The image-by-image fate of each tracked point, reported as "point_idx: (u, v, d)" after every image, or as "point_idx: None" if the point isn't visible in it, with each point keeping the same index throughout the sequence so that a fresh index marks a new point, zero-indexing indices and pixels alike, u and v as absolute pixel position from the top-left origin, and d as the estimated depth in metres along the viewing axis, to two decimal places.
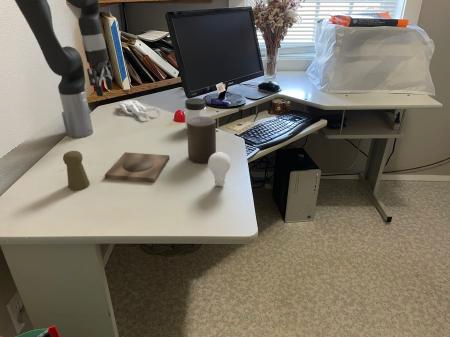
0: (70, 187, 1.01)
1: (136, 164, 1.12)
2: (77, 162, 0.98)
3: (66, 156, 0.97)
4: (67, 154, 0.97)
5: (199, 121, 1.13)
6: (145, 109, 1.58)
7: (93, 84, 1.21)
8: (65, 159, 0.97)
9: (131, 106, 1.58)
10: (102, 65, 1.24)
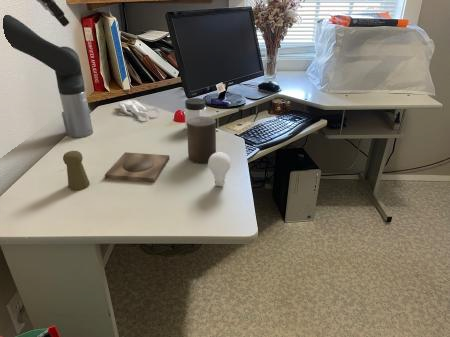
0: (70, 187, 1.01)
1: (136, 164, 1.12)
2: (77, 162, 0.98)
3: (66, 156, 0.97)
4: (67, 154, 0.97)
5: (199, 121, 1.13)
6: (145, 109, 1.58)
7: None
8: (65, 159, 0.97)
9: (131, 106, 1.58)
10: None
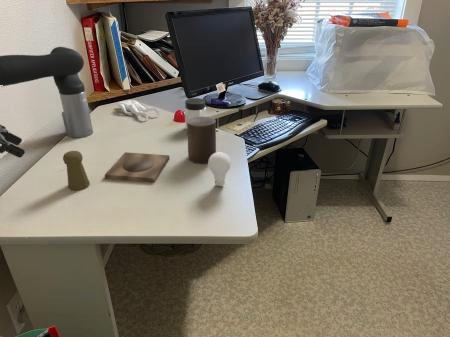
0: (70, 187, 1.01)
1: (136, 164, 1.12)
2: (77, 162, 0.98)
3: (66, 156, 0.97)
4: (67, 154, 0.97)
5: (199, 121, 1.13)
6: (144, 109, 1.58)
7: (3, 148, 0.82)
8: (65, 159, 0.97)
9: (130, 106, 1.58)
10: None
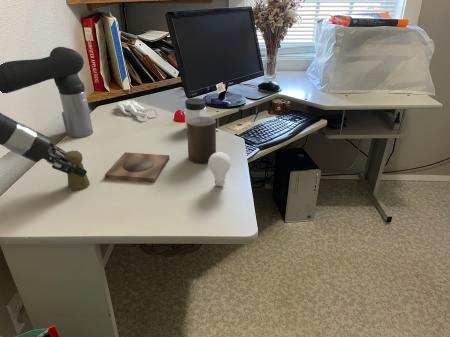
0: (70, 187, 1.01)
1: (136, 164, 1.12)
2: (77, 162, 0.98)
3: (66, 156, 0.97)
4: (67, 154, 0.97)
5: (199, 121, 1.13)
6: (143, 109, 1.58)
7: (71, 170, 0.95)
8: None
9: (129, 106, 1.58)
10: (50, 149, 0.95)
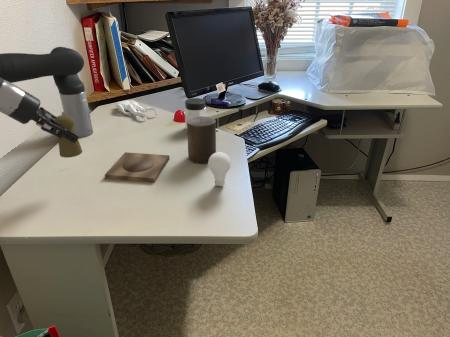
0: (61, 154, 0.95)
1: (136, 164, 1.12)
2: (68, 126, 0.92)
3: (57, 119, 0.92)
4: (58, 117, 0.92)
5: (199, 121, 1.13)
6: (143, 109, 1.58)
7: (62, 134, 0.90)
8: None
9: (128, 106, 1.58)
10: (40, 111, 0.90)
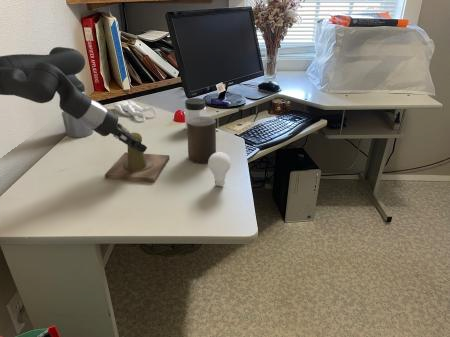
0: (130, 167, 1.08)
1: None
2: None
3: None
4: None
5: (199, 121, 1.13)
6: (141, 109, 1.57)
7: (135, 145, 1.02)
8: None
9: (127, 106, 1.58)
10: (116, 125, 1.03)
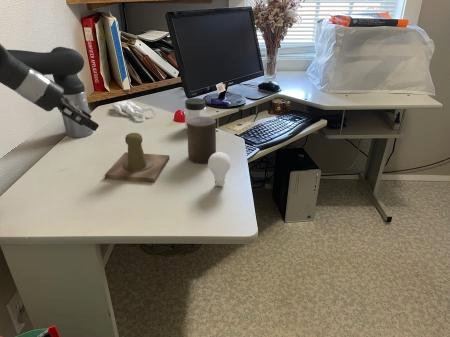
0: (130, 167, 1.08)
1: None
2: (138, 143, 1.05)
3: (129, 137, 1.04)
4: (129, 135, 1.05)
5: (199, 121, 1.13)
6: (140, 109, 1.57)
7: (83, 121, 0.90)
8: (128, 140, 1.04)
9: (126, 107, 1.57)
10: (63, 100, 0.92)
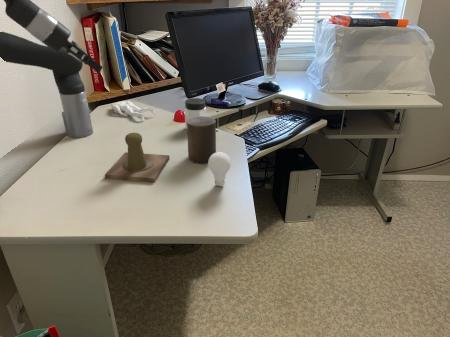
0: (130, 167, 1.08)
1: None
2: (138, 143, 1.05)
3: (129, 137, 1.04)
4: (129, 135, 1.05)
5: (199, 121, 1.13)
6: (139, 110, 1.57)
7: (88, 60, 0.98)
8: (128, 140, 1.04)
9: (125, 107, 1.57)
10: (70, 42, 1.00)
